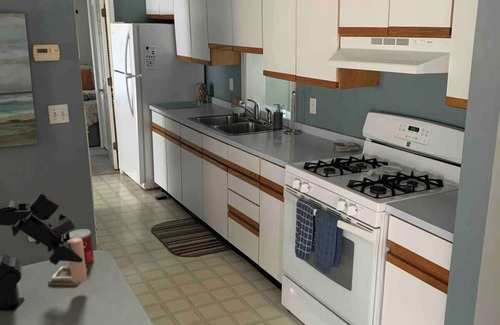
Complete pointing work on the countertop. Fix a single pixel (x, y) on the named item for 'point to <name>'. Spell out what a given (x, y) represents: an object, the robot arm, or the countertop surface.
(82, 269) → the post
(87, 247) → the canned food
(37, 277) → the countertop surface
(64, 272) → the socket plinth
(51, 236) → the robot arm
